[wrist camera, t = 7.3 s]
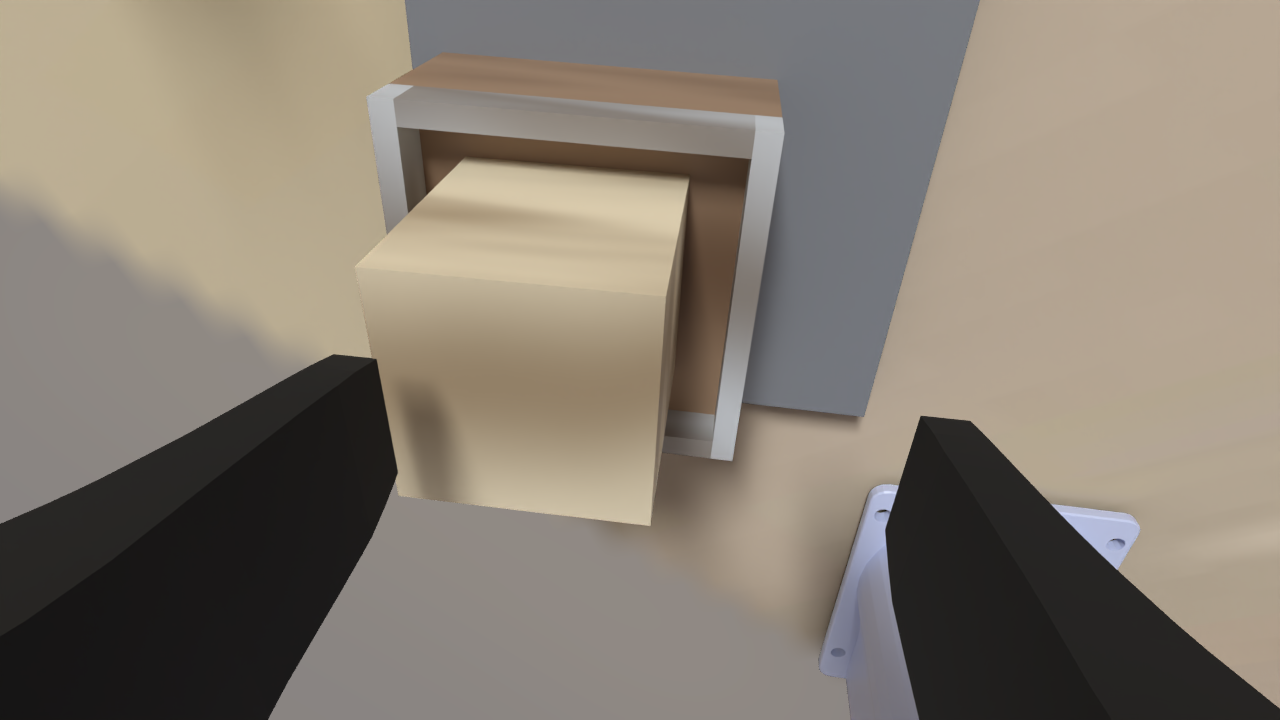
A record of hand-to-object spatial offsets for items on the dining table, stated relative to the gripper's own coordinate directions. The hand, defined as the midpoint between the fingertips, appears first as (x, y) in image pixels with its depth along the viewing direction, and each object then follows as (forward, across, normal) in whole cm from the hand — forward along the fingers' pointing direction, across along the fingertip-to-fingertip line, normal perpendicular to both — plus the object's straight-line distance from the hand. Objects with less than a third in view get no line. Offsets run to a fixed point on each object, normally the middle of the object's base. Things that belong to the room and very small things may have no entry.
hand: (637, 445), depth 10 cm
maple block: (+6, +2, +1) cm, 7 cm away
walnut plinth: (+10, +2, +1) cm, 11 cm away
